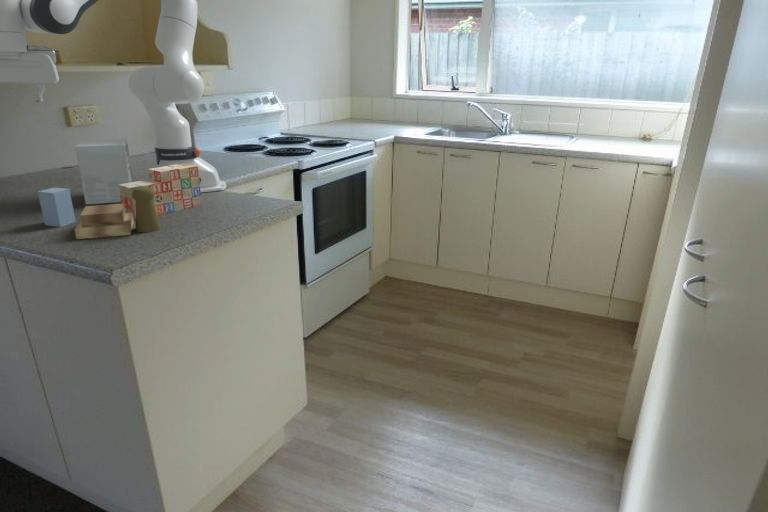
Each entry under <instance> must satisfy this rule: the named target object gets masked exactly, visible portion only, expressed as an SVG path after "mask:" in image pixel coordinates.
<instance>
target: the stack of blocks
mask: <svg viewBox="0 0 768 512" xmlns="http://www.w3.org/2000/svg"><path fill="white" fill-rule="evenodd" d="M147 174H148V179H143V180H139V181H138V180H137V181H133V182H131V183H125V184H119V192H120V200H121V202H120V204H124V207H125V213H132V214H133V220H134V221H136V201H135V200H134V199H133V196H132V191H133V189H135V188H137V187H151V188H152V189H153V190H154V193H155V195H154V198H153V201H154V205H155V208H156V212H157V215H158V216H161V215H165V213H166V214H169V213H174V212H179V211H182V209H183V210H187V209H186V208H188V209H192V208H191V207H193V208H196V207H195V206H197V207H201V206H200V205H202V206H203V204H202V203H203V201H202V195H201V193H200V180H199V175H198V166H195V165H190V164H180V165H177V164H175V165H168V166H164V167H158V166H157V167H154V168H153V167H152V168H147Z"/></svg>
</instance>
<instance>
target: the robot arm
mask: <svg viewBox="0 0 768 512" xmlns="http://www.w3.org/2000/svg"><path fill="white" fill-rule="evenodd" d="M98 1H99V0H0V84H36V85H37V88H38V89H39V90H38V92H37V94H34V95H33V96H34V101H35V102H36V103H38V102H39V103H42V102H43V101H44V99H43V94H44V91H45V90H46V85H47V84H48V85H49V84H51V85H53V84H57V83H58V82H59V81H60V77H59V72H58V69H57V66H56V64H57V55H56V52H55V51H54V50H53V49H52V48H49V47H48V46H45V45H41V46H37V45H28V41H27V36H26V31H27V32H31V33H35V34H57V35H67V34H70V33H71V32H73V31H74V30H75V29H76V27H77V26H78V24H79V22H80V20H81V17H82V16H83V14H84V13H85V12H86V11H87V10H89V8H91V7H92V6H93V5H95V4H96V3H97V2H98ZM197 1H198V0H160V5H161V7H160V9H161V10H160V13H159V17H158V23H157V29H156V35H155V39H154V43H155V44H154V45H155V47H156V49H157V50H158V51H159V52H160V53H161V54H162V55H163V64H162V66H150V65H149V66H144V67H143V66H142V67H140V68H136V69H133V71H132V72H131V73H130V75H129V78H128V87H129V89H130V91H131V93H132V95H133V96H134V97H135V98H137V99H138V100H139V101H140V102H141V104H142V105H143V107H144V108H145V110H146V112H147V115H148V116H149V119H150V122H151V124H152V125H151V126H152V129H153V137H154V142H155V146H154V155H155V162H156V165H157V168H158V167H164V166H168V165H175V164H177V165H180V164H190V165H195V166H198V175H199V180H200V193H210V192H217V191H224V190H226V189H227V182H226V181H224V180H223V179H220V177H219V173H218V171H217V169H216V168H215V167H214V166H213V165H212V164H210V163H209V162H207V161H206V160H204V159H202V158H201V157H200V155H201V150H200V149H199V148H198V147H197V146H194V145H192V144H193V143H192V137H191V136H192V135H191V128H190V123H189V121H188V120H187V118H185V117H184V116H183V115H182V114H181V113H180V111H178V108H177V106H176V104H178V105H187V104H191V103H195V102H199V101H200V100H201V99H202V98H203V96H204V92H205V82H204V80H203V77H202V76H201V74H200V73H199V72H198V71H197V69H196V67H195V64H194V60H193V50H194V43H195V38H196V37H195V36H196V31H197V28H198V27H197V26H198V25H197V24H198V17H199V16H198V11H199V10H198V2H197ZM1 101H2V100H1V98H0V102H1Z"/></svg>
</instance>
